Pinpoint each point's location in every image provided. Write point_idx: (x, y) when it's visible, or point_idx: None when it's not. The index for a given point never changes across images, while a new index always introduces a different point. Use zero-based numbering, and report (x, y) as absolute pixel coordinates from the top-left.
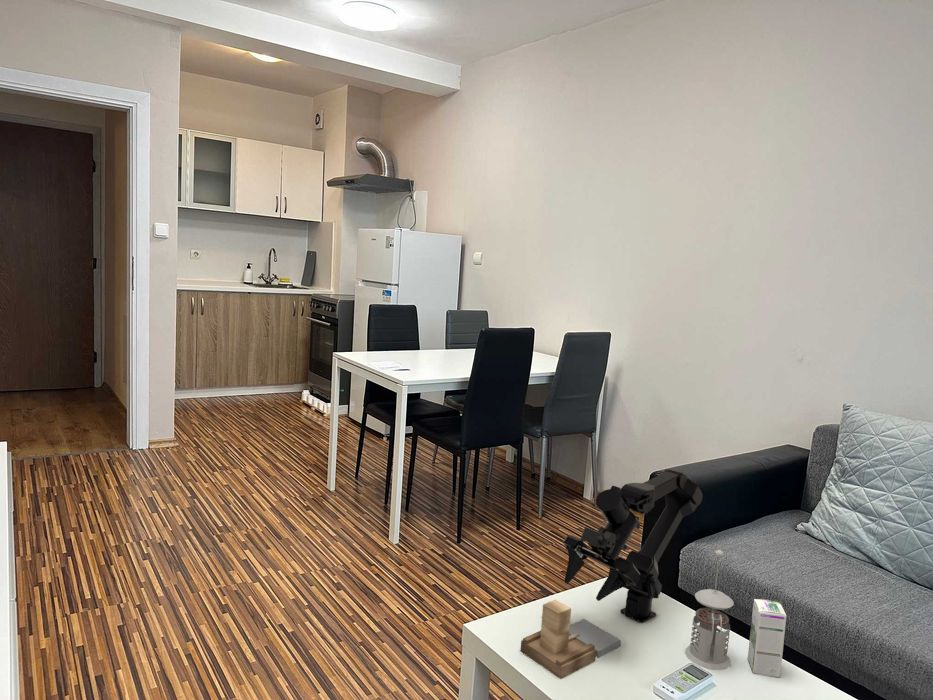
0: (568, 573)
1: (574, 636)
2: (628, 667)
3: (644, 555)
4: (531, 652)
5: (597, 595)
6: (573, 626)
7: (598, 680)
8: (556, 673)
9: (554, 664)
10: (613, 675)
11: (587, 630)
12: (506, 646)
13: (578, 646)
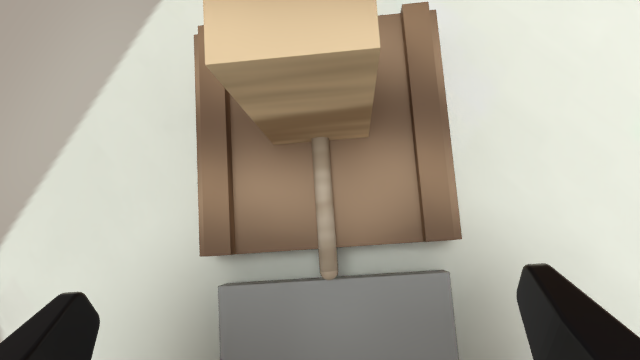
0: (593, 343)
1: (318, 233)
2: (113, 344)
3: None
4: None
5: (56, 312)
6: (435, 344)
7: (127, 170)
8: None
9: None
10: (114, 245)
11: None
12: (483, 6)
13: (265, 206)
